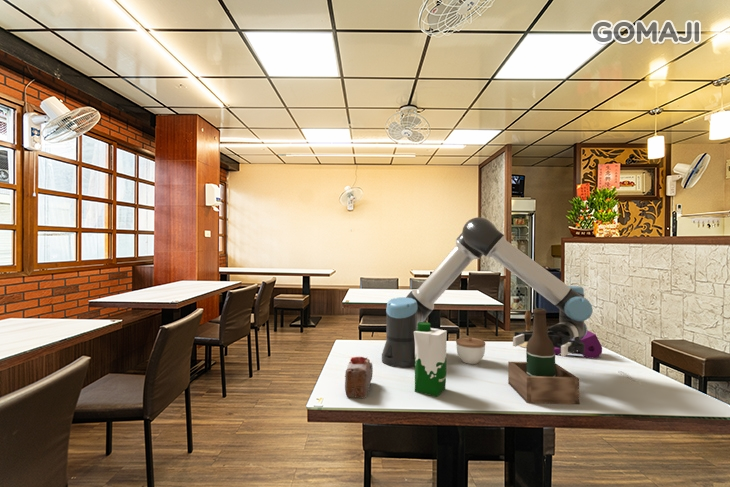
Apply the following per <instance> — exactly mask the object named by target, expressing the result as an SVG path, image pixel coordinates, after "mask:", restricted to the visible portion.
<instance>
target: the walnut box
mask: <svg viewBox="0 0 730 487" xmlns="http://www.w3.org/2000/svg"><path fill="white" fill-rule="evenodd" d="M507 363H508V367H507V369H508V370H507V372H508V373H507V376H508V380H507V381H508V382H507V383H508V385H509V386H510V387H511V388H512V389H513V390H514V391H515V392H516V393H517V394H518V395H519V396H520V397H521V399H523V401H524V402H525V403H527V404H560V405H561V404H562V405H565V404H566V405H567V404H568V405H580V378H579V377H577V376H576V375H575V374H572V373H571V372H569V371H568V370H567V369H565V368H563V367H562V366H561V365H559V364H557V363H556V362H555V373H556V377H544V376H529V375H527V361H508V362H507Z"/></svg>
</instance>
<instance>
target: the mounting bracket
mask: <svg viewBox="0 0 730 487" xmlns="http://www.w3.org/2000/svg"><path fill="white" fill-rule="evenodd" d="M597 336H598V335H596V334H595V333H594V332H592V331H590V330H588V329H587V333H586V335H585V336H584V337H583V339H581V341H582V342H583V343H584V353H580V352H579V351H577V352H578V353H580V354H581V355H583V356H584V357H585V358H587V359H596V358H598V357H600V356H601V355H602V352H603V346H602V344H601V341H600V340H599V338H598V337H597ZM554 348H555V355H561V348H557V347H554Z"/></svg>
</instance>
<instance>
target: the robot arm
mask: <svg viewBox="0 0 730 487" xmlns="http://www.w3.org/2000/svg"><path fill="white" fill-rule="evenodd" d="M482 256H485V257H486V258H492V259H493V260H494V261H496V262H497V263H499V264H500V265H502V267H504V268H505V269H507V270H508V271H509V272H511V273H512V274H513V275H515V277H517V278H518V279H520V280H521V281H522V282H524V283H525V284H526V285H528V286H529V287H530V288H531V289H533V290H534V291H535V292H537V293H538V294H539V295H541V296H542V297H543V298H544V299H546V300H547V301H548V302H550V303H551V304H552V305H554V306H555V307H556V308H557V309H559V314H558V315H559V317H558V318H559V319H558V320H559V322H558V323H556V324H553V325H550V326H549V328H547V333H548V337H549V338H550V340H551V341H552V343H553V345H554V347H557V348H561V354H560V357H565V356H567V355H569V354H570V353H577V352H578V351H579V352H578V353H580V354H581V353H584V343H583V342H582V341H581V339H583V337H584V336H585V335H586V333H587V330H588V327H587V325H586V323H585V321H587V320H589V318H591V317H592V315H593V309H594V308H593V306H592V304H591V302H590V300H588V298H585V290H584V288H583V287H582V286H578V285H567V284H566V283H565V282H563V281H562V280H561V279H559V278H558V277H557V276H555V275H554V274H552V272H550V271H549V270H547V269H546V268H544V267H543V266H541V265H540V264H539V263H538V262H537V261H535V260H533V258H531V257H529V256H528V255H527V254H525V253H524V252H523V251H521V249H519V248H517V247H516V246H515V245H513V243H511V242H509V241H508V240H507V239H506V235H505V234H504V233H502V232H501V231H500V230H498V229H497V227H496V225H494V224H493V222H491V221H490V220H488V219H487V218H484V217H480V216H478V217H473V218H471V219H469V220H468V221H467V222H465V224H463V227H462V232H461V233H460V234H459V235H458V237H457V238H456V239H455V246H454V247H453V248H452V249H451V251H450V252H449V253H448V254H447V255H446V256H445V257H444V259H443V260H442V261H441V262H440V263H439V264H438V265H437V267H436V268H435V269H434V270H433V271H432V272H431V274H430V275H429V276H428V277H427V278H426V279H425V280H424V281H423V282H422V284H421V285H419V287H418V288H416V289H415V288H413V289H411V291H410V292H409V293H408V294H407V295H406V296H405V297H403V296H402V297H396V298H395V297H394V298H391V299H389V300H388V301H387V303H386V308H385V309H386V310H385V312H386V332H385V333H386V338H385V343H384V346H383V349H382V352H381V362H382V363H383V364H385V365H387V366H392V367H397V368H411V367H415V339H414V331H416V330H417V329H418V328H417V324H418V323H419V322H426V320H427V318H428V316H430V314H431V313H432V312H433V310H434V309H435V303H436V301H437V300H439V298H440V297H441V296H442V294H444V293H445V292H446V290H448V288H449V287H450V286H451V285H452V284H453V283H454V282H455V280H456V279H457V278H458V277H459V276H460V275H461V274H462V272H464V271H465V269H466V268H468V266H469V265H470V264H471V262H472V261H473V260H480V259H481V257H482ZM513 334H514V335H513V337H512V347H519V346H518V345H520V344H523V343H524V342H528V341H529V339H530V338H531V336H532V334H533V330H530V331H526V330H525V331H514V333H513Z"/></svg>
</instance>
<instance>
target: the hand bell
mask: <svg viewBox="0 0 730 487" xmlns="http://www.w3.org/2000/svg"><path fill="white" fill-rule="evenodd" d="M524 321H525V331H531V326H530V325H531V322H532V314H531V311H530V309H526V311H525V314H524ZM527 343H528V342H524V343H523V344H520V345H518V346H517V347H520V348H525V349H527Z"/></svg>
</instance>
